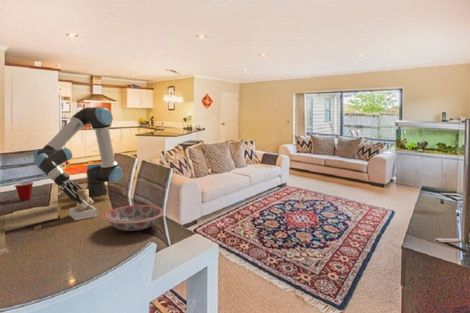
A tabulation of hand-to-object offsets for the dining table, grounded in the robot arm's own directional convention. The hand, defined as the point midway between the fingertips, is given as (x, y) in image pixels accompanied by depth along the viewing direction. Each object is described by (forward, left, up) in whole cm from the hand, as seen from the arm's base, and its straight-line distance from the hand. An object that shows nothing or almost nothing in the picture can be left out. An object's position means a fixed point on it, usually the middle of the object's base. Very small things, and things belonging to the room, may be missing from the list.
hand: (89, 205), depth 164 cm
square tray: (+3, -2, -6) cm, 7 cm away
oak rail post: (+3, -2, -4) cm, 6 cm away
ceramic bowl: (-11, +35, -7) cm, 37 cm away
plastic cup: (+23, -63, -7) cm, 68 cm away
